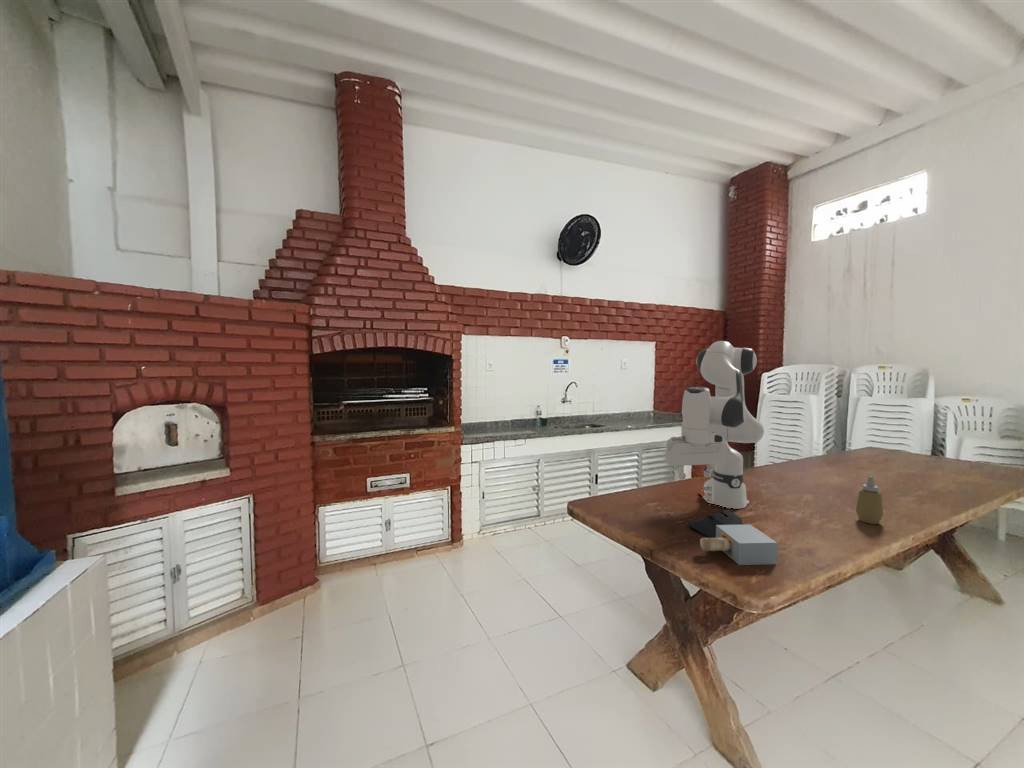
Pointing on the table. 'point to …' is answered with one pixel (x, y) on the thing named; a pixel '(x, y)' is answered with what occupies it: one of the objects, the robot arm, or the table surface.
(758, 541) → the socket block
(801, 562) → the table surface
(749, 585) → the table surface
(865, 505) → the squeeze bottle
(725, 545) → the dowel peg
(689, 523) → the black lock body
